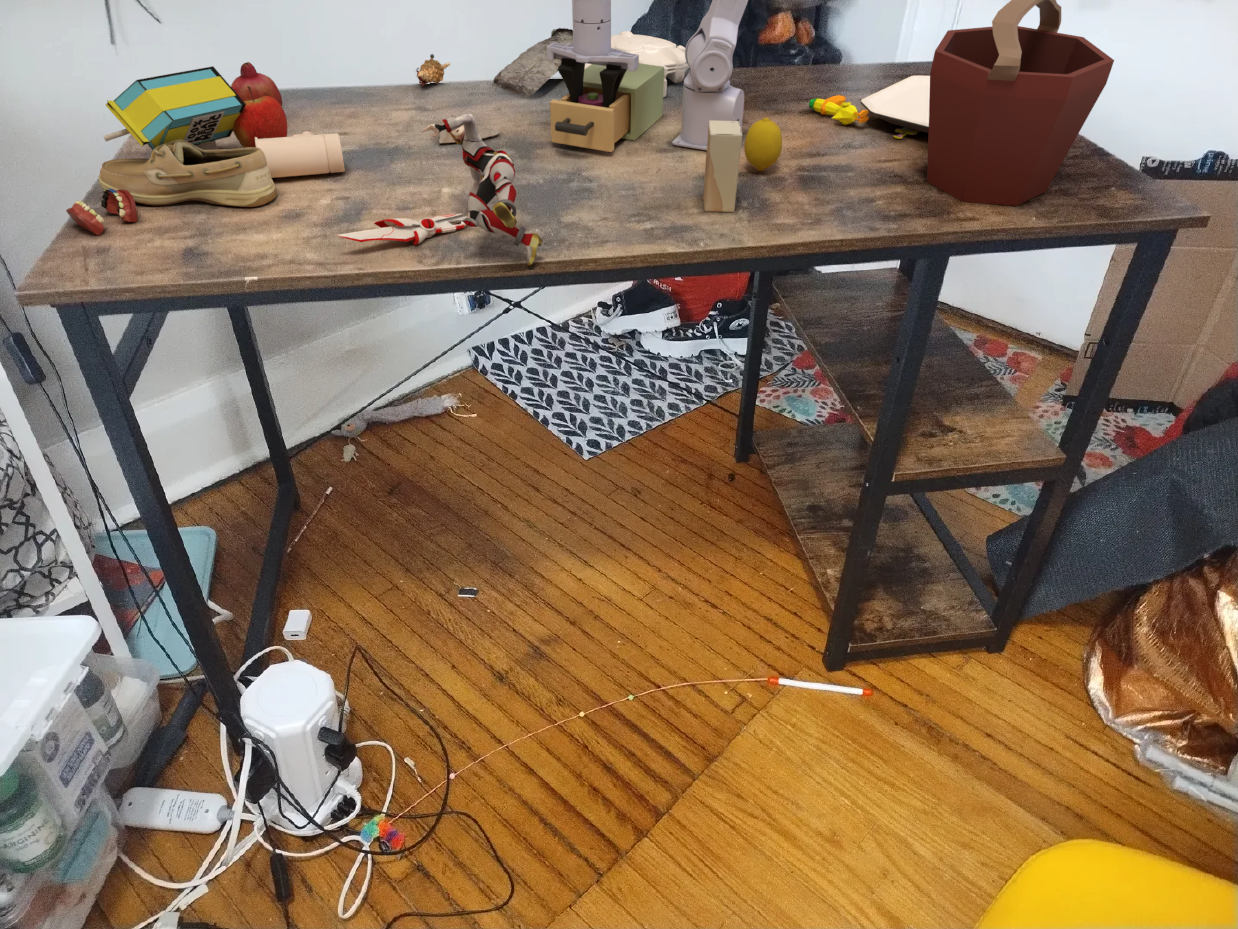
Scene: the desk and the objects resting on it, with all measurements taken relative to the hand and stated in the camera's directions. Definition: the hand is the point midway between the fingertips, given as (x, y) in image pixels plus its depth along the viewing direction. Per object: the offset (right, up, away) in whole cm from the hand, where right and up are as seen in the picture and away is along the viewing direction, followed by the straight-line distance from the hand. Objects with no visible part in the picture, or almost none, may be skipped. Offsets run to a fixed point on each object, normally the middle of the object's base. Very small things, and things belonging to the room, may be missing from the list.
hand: (592, 112), depth 140 cm
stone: (-5, +18, +27) cm, 33 cm away
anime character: (-11, -35, -35) cm, 51 cm away
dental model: (-68, -24, -24) cm, 76 cm away
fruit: (-55, +1, +8) cm, 56 cm away
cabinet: (+4, +2, +10) cm, 11 cm away
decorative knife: (+52, +1, +9) cm, 53 cm away
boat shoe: (-57, -17, -13) cm, 61 cm away
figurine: (-33, +19, +21) cm, 43 cm away
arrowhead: (-25, -3, +3) cm, 26 cm away
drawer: (0, -4, +2) cm, 4 cm away
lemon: (+26, -11, -5) cm, 28 cm away
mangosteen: (0, -1, +1) cm, 1 cm away
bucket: (+58, -13, -8) cm, 60 cm away
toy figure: (+45, +2, +6) cm, 45 cm away
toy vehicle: (+6, +22, +24) cm, 33 cm away
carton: (-55, -2, -8) cm, 56 cm away
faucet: (-50, -10, -9) cm, 51 cm away
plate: (+63, +3, +11) cm, 64 cm away
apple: (-51, -7, -2) cm, 51 cm away
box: (+18, -19, -14) cm, 30 cm away
